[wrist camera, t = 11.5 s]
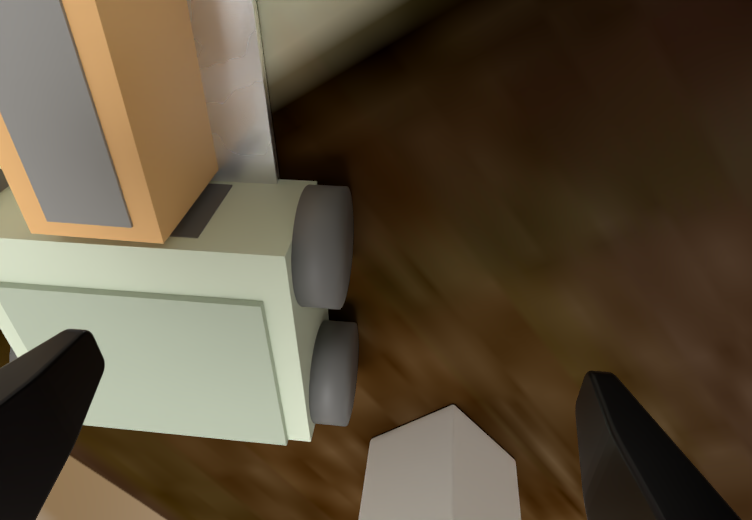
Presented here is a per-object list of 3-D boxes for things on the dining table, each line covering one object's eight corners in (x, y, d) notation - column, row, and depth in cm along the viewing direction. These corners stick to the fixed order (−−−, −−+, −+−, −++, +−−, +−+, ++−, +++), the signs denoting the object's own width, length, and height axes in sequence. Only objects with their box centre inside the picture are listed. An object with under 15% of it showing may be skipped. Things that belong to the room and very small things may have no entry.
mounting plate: (246, -70, 16) (242, -68, 16) (279, 179, 22) (277, 184, 21) (-26, -71, 17) (-35, -69, 17) (67, 168, 22) (62, 173, 22)
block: (218, 169, 21) (162, 245, 17) (109, 162, 22) (29, 235, 18) (173, -69, 16) (80, -41, 12) (34, -72, 17) (-102, -47, 13)
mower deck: (351, 164, 21) (324, 244, 17) (359, 369, 28) (342, 461, 24) (-5, 147, 22) (-113, 217, 18) (88, 345, 29) (26, 429, 25)
